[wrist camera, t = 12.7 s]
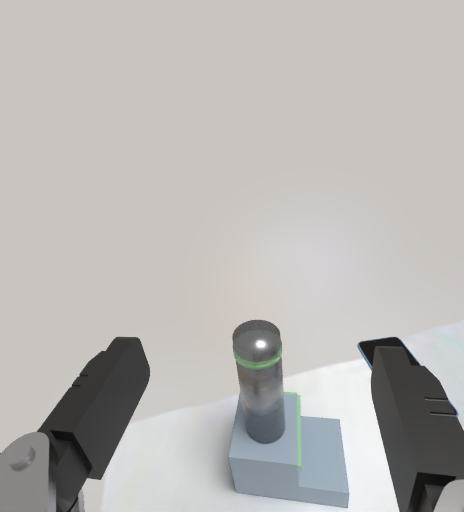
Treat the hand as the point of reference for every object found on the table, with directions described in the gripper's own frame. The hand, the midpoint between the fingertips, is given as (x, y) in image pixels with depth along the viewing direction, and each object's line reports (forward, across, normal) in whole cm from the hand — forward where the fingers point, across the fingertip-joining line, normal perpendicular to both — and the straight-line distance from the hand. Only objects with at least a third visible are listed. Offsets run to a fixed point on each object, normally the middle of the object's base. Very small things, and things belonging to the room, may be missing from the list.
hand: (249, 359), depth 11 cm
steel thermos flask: (+14, +2, +25) cm, 29 cm away
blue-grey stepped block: (+14, 0, +32) cm, 35 cm away
